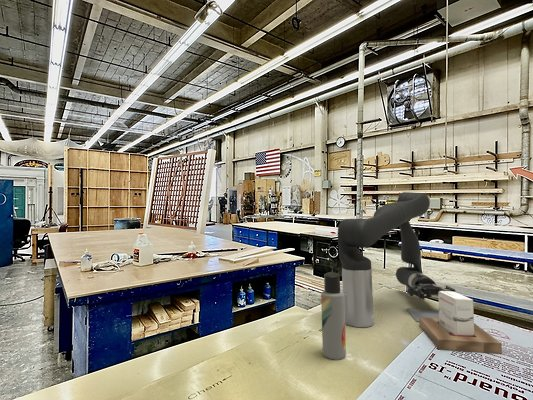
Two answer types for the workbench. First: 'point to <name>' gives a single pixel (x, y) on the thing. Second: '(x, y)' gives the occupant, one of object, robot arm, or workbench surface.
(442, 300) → the ink box
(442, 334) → the wooden square frame
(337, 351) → the lotion bottle
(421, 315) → the grey mat
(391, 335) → the workbench surface
